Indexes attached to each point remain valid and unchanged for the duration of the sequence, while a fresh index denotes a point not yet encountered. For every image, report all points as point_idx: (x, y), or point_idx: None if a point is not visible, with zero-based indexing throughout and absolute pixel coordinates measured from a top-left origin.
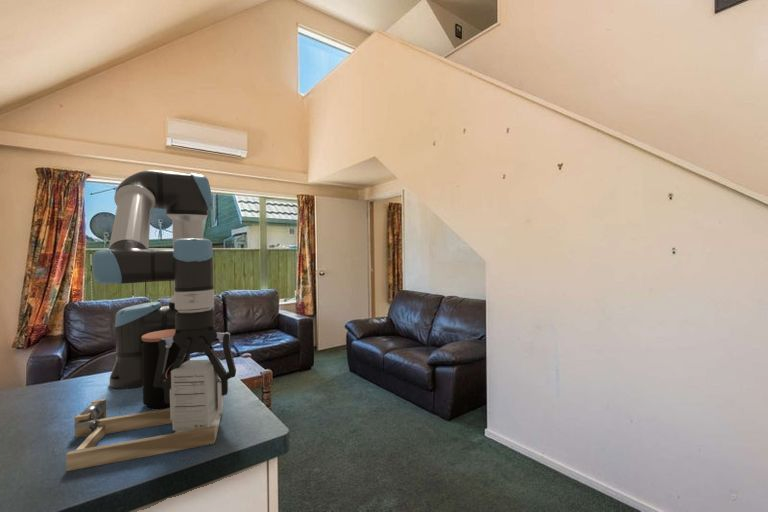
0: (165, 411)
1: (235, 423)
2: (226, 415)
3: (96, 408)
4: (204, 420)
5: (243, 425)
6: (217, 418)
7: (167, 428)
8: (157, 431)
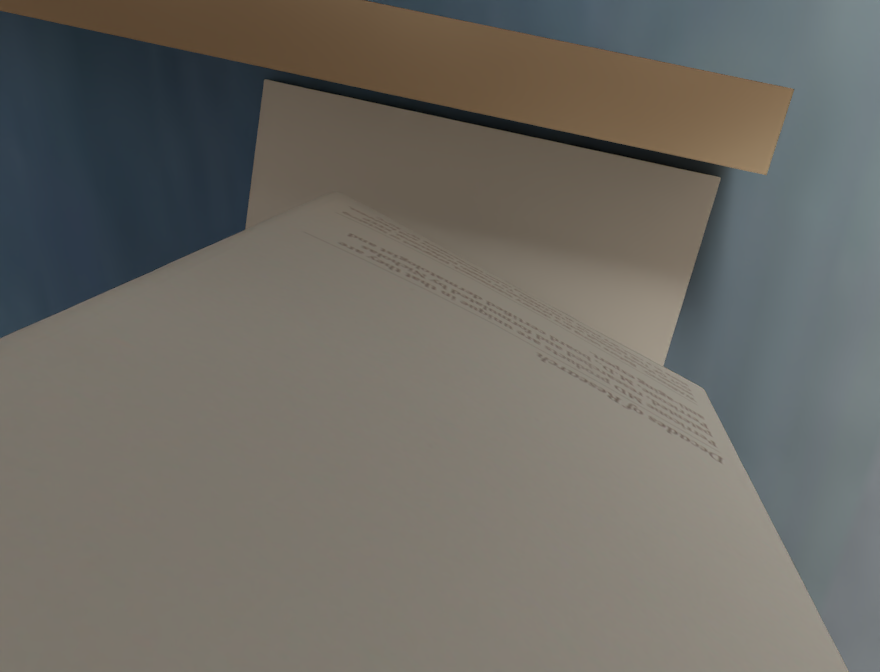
0: (25, 12)
1: (813, 479)
2: (782, 201)
3: None
4: None
5: (871, 573)
6: (663, 256)
7: (153, 160)
8: (68, 175)
